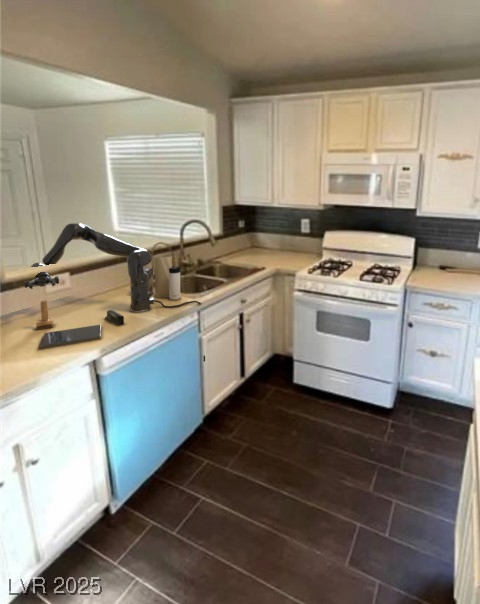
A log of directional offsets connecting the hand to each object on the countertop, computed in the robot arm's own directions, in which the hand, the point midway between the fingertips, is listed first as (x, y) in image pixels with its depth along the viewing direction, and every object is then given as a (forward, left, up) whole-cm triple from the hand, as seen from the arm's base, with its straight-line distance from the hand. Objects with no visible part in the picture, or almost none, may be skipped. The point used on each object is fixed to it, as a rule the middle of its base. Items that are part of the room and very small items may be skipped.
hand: (42, 285), depth 176 cm
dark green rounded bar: (-31, +17, -18) cm, 39 cm away
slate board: (-14, +29, -18) cm, 37 cm away
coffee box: (-49, -20, -18) cm, 55 cm away
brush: (-2, +11, -18) cm, 21 cm away
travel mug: (-64, -5, -18) cm, 66 cm away
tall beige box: (-59, -15, -18) cm, 63 cm away
